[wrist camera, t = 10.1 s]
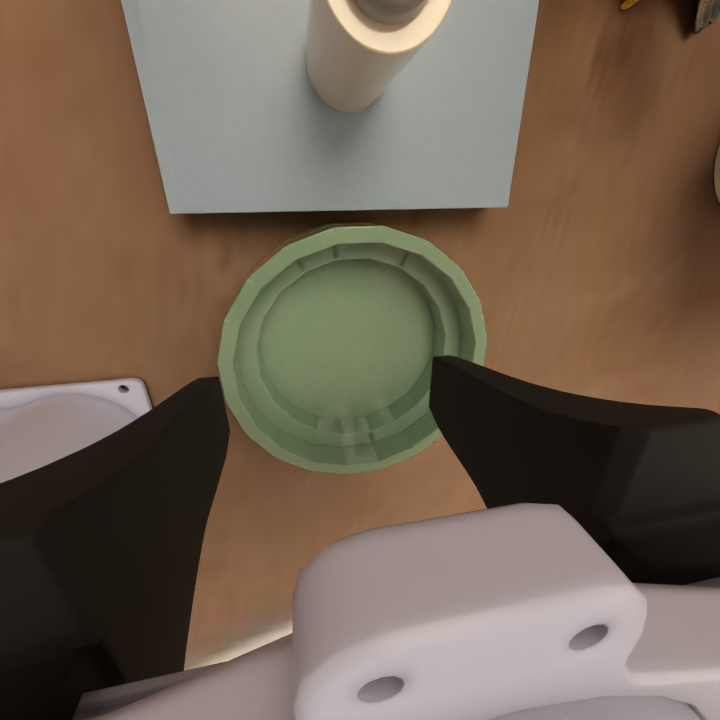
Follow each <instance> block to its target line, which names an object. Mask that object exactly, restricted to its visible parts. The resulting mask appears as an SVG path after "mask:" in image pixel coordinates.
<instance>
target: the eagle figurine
mask: <svg viewBox="0 0 720 720" xmlns="http://www.w3.org/2000/svg"><path fill="white" fill-rule="evenodd" d="M637 1H639V0H625V2H624V3H622V4H621V9H622V10H625V9H627V8H629V7H630V6H632V5H633V4H634V3H636V2H637ZM719 11H720V0H699V4H698V11H697V15H696V19H695V27H694V32H697V31H698V30H699V29H700V27H701V28H702V29H705V28H706V27H707V25H708V23H709V21H710V22H714V21H715V20H716V19H717V17H718V15H719Z"/></svg>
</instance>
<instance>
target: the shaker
mask: <svg viewBox="0 0 720 720" xmlns="http://www.w3.org/2000/svg"><path fill="white" fill-rule="evenodd" d="M451 3H452V0H309V6H308V17H307V28H306V38H305V49H304V58H305V66H306V71H307V74H308V77H309V80H310V82H311V85H312V87H313V88H314V90H315V92H316V93H317V94H318V96H319V97H320V98H321V99H322V100H323V101H324V102H325V103H326V104H327V105H328V106H330V107H332V108H333V109H335V110H337V111H340V112H344V113H357V112H361V111H364V110H366V109H368V108H369V107H371V106H372V105H373V104H375V102H376V101H377V100H378V99H379V98H380V97H381V96H382V95H383V93H384V92H385V91H386V90H387V89H388V87H389V86H390V85H391V84H392V83H393V82H394V80H395V79H396V78H397V77H398V76H399V74H400V73H401V72H402V71H403V70H404V69H405V67H406V66H407V65H408V64H409V63H410V61H411V60H412V59H413V58H414V57H415V56H416V54H417V53H418V52H419V51H420V50H421V48H422V47H423V46H424V45H425V44H426V43H427V41H428V40H429V39H430V38H431V37H432V35H433V34H434V33H435V32H436V31H437V29H438V28H439V26H440V25H441V24H442V22H443V20H444V18H445V16H446V15H447V12H448V10H449V8H450V5H451Z"/></svg>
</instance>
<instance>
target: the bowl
mask: <svg viewBox="0 0 720 720" xmlns="http://www.w3.org/2000/svg"><path fill="white" fill-rule="evenodd" d="M486 345H487V335H486V329H485V324H484V318H483V312H482V306H481V303H480V300H479V298H478V296H477V294H476V293H475V291H474V289H473V287H472V286H471V284H470V282H469V281H468V279H467V277H466V275H465V274H464V272H463V270H462V269H461V268H460V266H459V265H457V264H456V263H455V262H454V261H452V260H451V259H450V258H449V257H448V256H446V255H445V254H444V253H443V252H441V251H440V250H439V249H438V248H436V247H435V246H434V245H433V244H432V243H430V242H429V241H427V240H425V239H422V238H419V237H416V236H413V235H410V234H407V233H404V232H401V231H398V230H395V229H392V228H389V227H386V226H382V225H378V224H374V223H370V222H369V223H368V222H347V223H327V224H323V225H320V226H317V227H315V228H312V229H310V230H307V231H304V232H302V233H299V234H296V235H294V236H291V237H289V238H288V239H285V240H284V241H283V242H282V243H281V244H279V245H278V246H277V247H276V248H275V249H273V250H272V251H271V252H270V253H269V254H268V255H266V256H265V257H264V258H263V259H262V260H261V261H259V262H258V263H257V264H256V265H255V266H254V268H253V269H252V271H251V273H250V275H249V276H248V278H247V280H246V282H245V283H244V285H243V287H242V289H241V290H240V292H239V294H238V296H237V297H236V299H235V301H234V303H233V304H232V306H231V308H230V310H229V311H228V313H227V315H226V317H225V319H224V322H223V328H222V334H221V341H220V347H219V353H218V359H217V362H218V363H217V364H218V369H219V374H220V379H221V383H222V388H223V393H224V397H225V401H226V404H227V405H228V407H229V408H230V410H231V412H232V413H233V415H234V416H235V418H236V419H237V421H238V423H239V424H240V426H241V427H242V429H243V430H244V432H245V434H246V435H247V436H248V437H250V438H251V439H252V440H253V441H255V442H256V443H257V444H258V445H260V446H261V447H262V448H263V449H265V450H266V451H267V452H268V453H270V454H271V455H272V456H273V457H276V458H277V459H280V460H282V461H285V462H287V463H290V464H293V465H295V466H298V467H300V468H303V469H305V470H308V471H315V472H324V473H334V474H343V475H344V474H345V475H347V474H354V473H361V472H368V471H375V470H380V469H383V468H386V467H388V466H391V465H393V464H396V463H398V462H401V461H403V460H406V459H408V458H411V457H413V455H414V456H415V455H416V454H417V453H419V452H420V451H422V450H423V449H424V448H426V447H427V446H429V445H430V444H432V443H433V442H434V441H436V440H437V439H439V438H440V437H441V436H442V433H441V431H440V430H439V428H438V426H437V424H436V422H435V420H434V418H433V415H432V413H431V411H430V408H429V395H430V383H431V371H432V359H433V357H434V356H445V355H451V356H455V357H459V358H462V359H465V360H468V361H470V362H473V363H476V364H478V365H481V366H483V365H484V358H485V352H486Z"/></svg>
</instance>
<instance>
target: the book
mask: <svg viewBox="0 0 720 720" xmlns="http://www.w3.org/2000/svg"><path fill="white" fill-rule="evenodd" d="M121 2H122V7H123V11H124V15H125V20H126V24H127V29H128V33H129V37H130V42H131V46H132V50H133V55H134V59H135V63H136V68H137V72H138V77H139V81H140V85H141V90H142V94H143V98H144V103H145V107H146V112H147V116H148V120H149V125H150V129H151V133H152V138H153V142H154V146H155V151H156V155H157V160H158V164H159V168H160V173H161V177H162V181H163V186H164V190H165V194H166V199H167V203H168V208H169V212H170V214H194V213H246V212H297V211H349V210H400V209H452V208H503V207H508V201H509V194H510V188H511V181H512V175H513V168H514V162H515V155H516V149H517V142H518V136H519V129H520V123H521V116H522V110H523V103H524V97H525V90H526V84H527V77H528V70H529V64H530V57H531V51H532V44H533V38H534V31H535V25H536V18H537V12H538V5H539V0H452V3H451V5H450V8H449V10H448V12H447V15H446V16H445V18H444V20H443V22H442V24H441V25H440V26H439V28H438V29H437V31H436V32H435V33H434V34H433V35H432V37H431V38H430V39H429V40H428V41H427V43H426V44H425V45H424V46H423V47H422V48H421V50H420V51H419V52H418V53H417V54H416V56H415V57H414V58H413V59H412V60H411V61H410V63H409V64H408V65H407V66H406V67H405V69H404V70H403V71H402V72H401V73H400V74H399V76H398V77H397V78H396V79H395V80H394V82H393V83H392V84H391V85H390V86H389V87H388V89H387V90H386V91H385V92H384V93H383V95H382V96H381V97H380V98H379V99H378V100H377V101H376V102H375V104H373V105H372V106H371V107H369V108H368V109H366V110H364V111H361V112H357V113H344V112H340V111H337V110H335V109H333V108H332V107H330V106H328V105H327V104H326V103H325V102H324V101H323V100H322V99H321V98H320V97H319V96H318V94H317V93H316V92H315V90H314V88H313V87H312V85H311V82H310V80H309V77H308V74H307V71H306V66H305V58H304V49H305V38H306V28H307V17H308V6H309V0H121Z"/></svg>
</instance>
